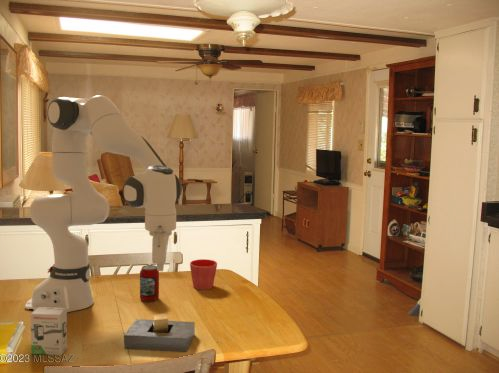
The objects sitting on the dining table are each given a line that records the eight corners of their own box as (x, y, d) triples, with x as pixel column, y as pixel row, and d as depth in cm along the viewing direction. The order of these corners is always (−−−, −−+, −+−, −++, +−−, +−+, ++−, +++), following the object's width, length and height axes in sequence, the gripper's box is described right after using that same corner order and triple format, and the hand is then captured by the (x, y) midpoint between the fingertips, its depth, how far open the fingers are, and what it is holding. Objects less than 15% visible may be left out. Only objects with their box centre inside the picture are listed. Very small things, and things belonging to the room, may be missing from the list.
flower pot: (222, 286, 202) (223, 262, 200) (202, 293, 193) (203, 268, 192) (203, 280, 208) (204, 257, 207) (184, 286, 200) (184, 262, 199)
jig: (124, 348, 144) (124, 335, 144) (136, 331, 156) (136, 319, 156) (186, 352, 143) (186, 338, 142) (194, 334, 155) (194, 322, 154)
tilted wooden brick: (154, 344, 147) (154, 320, 146) (153, 339, 151) (153, 314, 150) (168, 343, 148) (168, 318, 147) (166, 338, 152) (166, 313, 151)
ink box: (30, 354, 139) (28, 313, 138) (37, 346, 144) (36, 306, 143) (61, 355, 139) (60, 313, 138) (68, 347, 144) (67, 307, 143)
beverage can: (136, 300, 183) (136, 268, 182) (146, 294, 190) (146, 263, 188) (152, 303, 181) (152, 270, 179) (162, 297, 187) (162, 265, 186)
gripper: (170, 231, 135) (170, 281, 137) (172, 216, 155) (172, 259, 157) (146, 231, 135) (146, 281, 136) (151, 215, 155) (151, 260, 157)
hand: (160, 269), depth 147 cm, fingers closed
